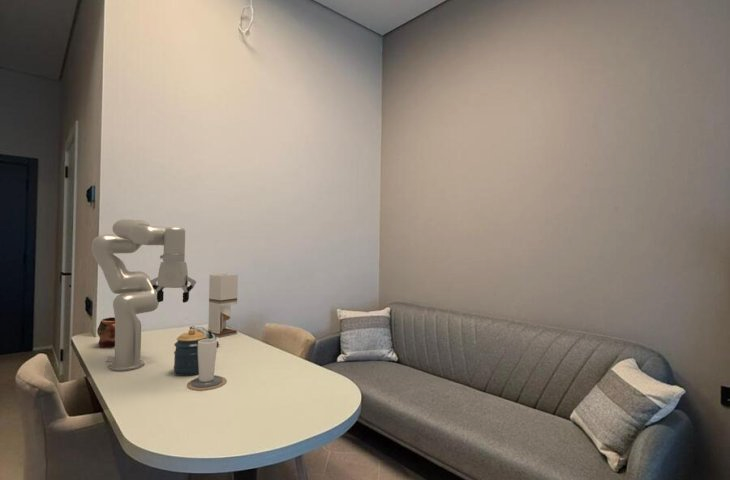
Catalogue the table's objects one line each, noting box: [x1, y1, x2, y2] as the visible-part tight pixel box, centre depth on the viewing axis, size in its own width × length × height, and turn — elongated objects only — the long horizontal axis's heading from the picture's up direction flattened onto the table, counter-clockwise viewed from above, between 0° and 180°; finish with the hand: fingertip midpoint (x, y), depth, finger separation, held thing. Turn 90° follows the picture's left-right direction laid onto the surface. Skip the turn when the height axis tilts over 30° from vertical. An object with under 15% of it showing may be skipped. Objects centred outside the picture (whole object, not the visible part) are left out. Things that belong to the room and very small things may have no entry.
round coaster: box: [186, 374, 228, 391], centre depth 144 cm, size 14×14×1 cm
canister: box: [173, 328, 206, 377], centre depth 158 cm, size 13×13×18 cm
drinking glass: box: [198, 338, 218, 382], centre depth 144 cm, size 7×7×15 cm
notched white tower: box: [207, 273, 239, 339], centre depth 222 cm, size 11×11×35 cm
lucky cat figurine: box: [189, 325, 220, 347], centre depth 192 cm, size 15×12×14 cm
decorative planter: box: [96, 316, 115, 349], centre depth 193 cm, size 20×12×14 cm, turn 50°
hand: (172, 301), depth 149 cm, fingers open, 9 cm apart
